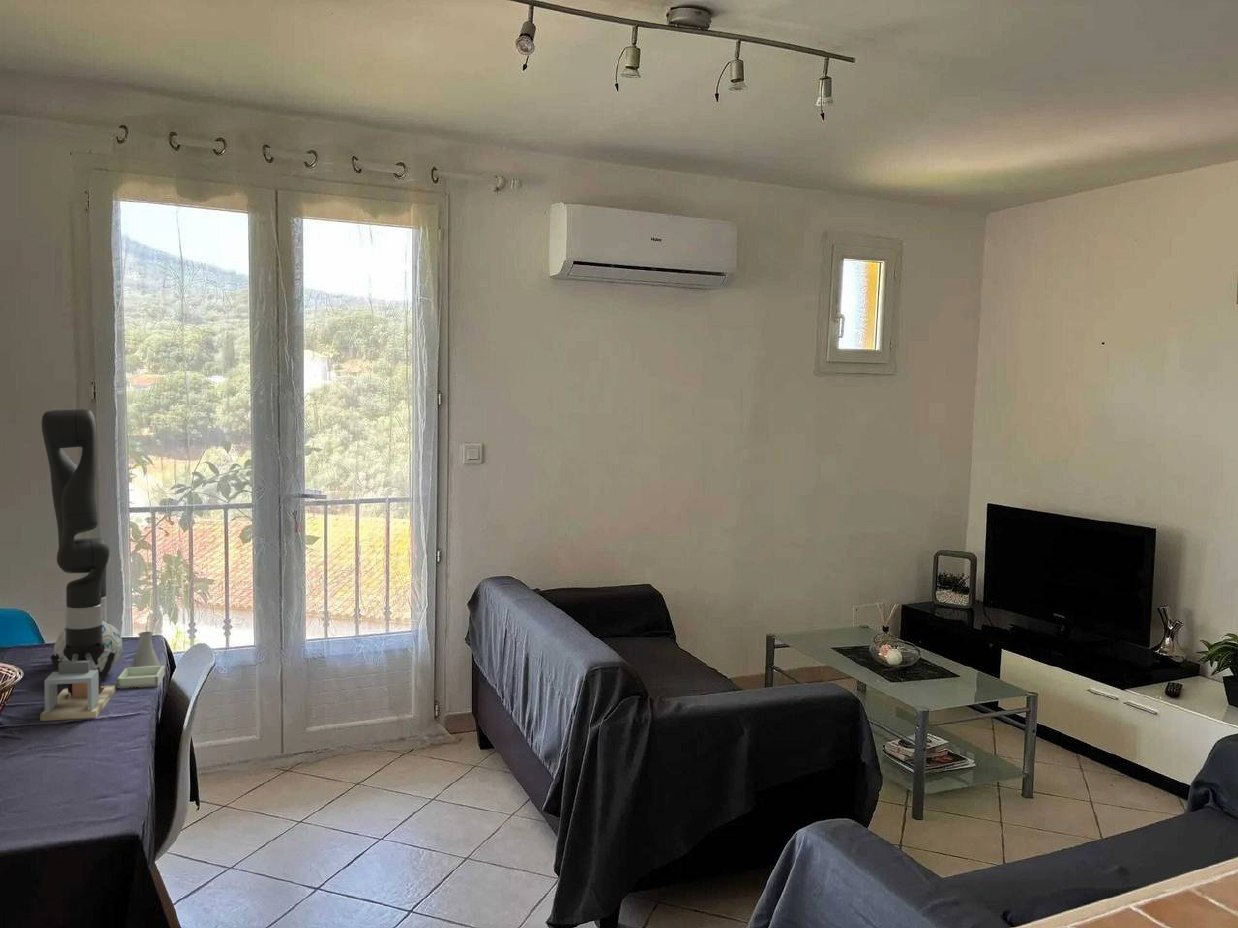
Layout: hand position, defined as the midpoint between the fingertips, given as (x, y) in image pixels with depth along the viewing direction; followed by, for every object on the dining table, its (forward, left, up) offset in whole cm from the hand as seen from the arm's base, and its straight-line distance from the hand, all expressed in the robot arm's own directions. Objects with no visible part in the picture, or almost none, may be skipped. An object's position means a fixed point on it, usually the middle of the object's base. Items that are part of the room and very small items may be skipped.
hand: (84, 693), depth 209 cm
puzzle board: (+4, 0, -2) cm, 5 cm away
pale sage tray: (-11, +10, -1) cm, 15 cm away
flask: (-21, +9, -2) cm, 23 cm away
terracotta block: (0, 0, -2) cm, 2 cm away
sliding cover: (+10, 0, 0) cm, 10 cm away
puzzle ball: (-17, -3, -2) cm, 18 cm away
